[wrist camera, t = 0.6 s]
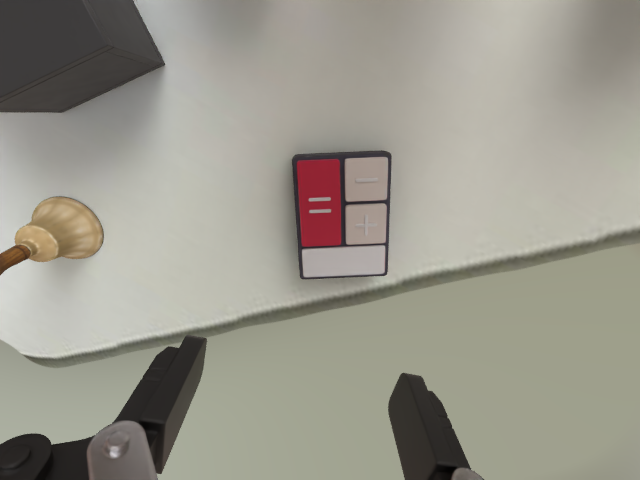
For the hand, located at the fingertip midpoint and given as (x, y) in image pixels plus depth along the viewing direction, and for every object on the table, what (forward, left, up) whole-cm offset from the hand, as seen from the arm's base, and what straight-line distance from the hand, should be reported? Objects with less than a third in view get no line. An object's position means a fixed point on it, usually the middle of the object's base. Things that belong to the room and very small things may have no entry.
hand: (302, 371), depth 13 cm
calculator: (+1, +4, -29) cm, 29 cm away
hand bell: (+11, -29, -29) cm, 42 cm away
